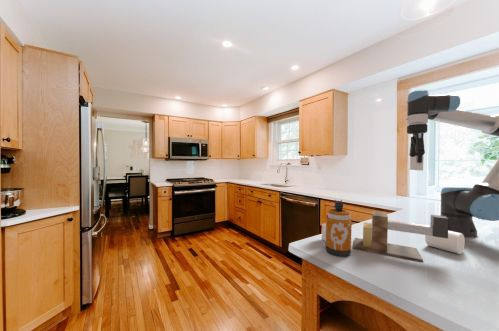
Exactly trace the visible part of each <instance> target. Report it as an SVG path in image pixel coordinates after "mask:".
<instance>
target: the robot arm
mask: <svg viewBox="0 0 499 331" xmlns="http://www.w3.org/2000/svg"><path fill="white" fill-rule="evenodd" d="M429 94H430V93H429V90H428V89H418V90H414V91H411V92H410V93H408V95H407V96H408V97H407V101H406V103H407V109H406V110H407V114H406V115H407V117H406V118H405V121H406V122H407V123H406V124H407V126H406V133H407V134H408V135H412V136H411V137H410V147H409V154H408V155H409V170H410V171H412V170H413V171H421V172H422V171H424V155H425V153H426V151H425V140H424V134H426V133H428V127H429V126H428V122H429V121H435V122H440V123H444V124H449V125H454V126H457V127H463V128H467V129H473V130H478V131H480V132H482V133H483V134H485V135H490V136H495V137H499V114H493V115H489V114H484V113H478V112H473V111H468V110H463V109H459V106H460V105H461V97H460V96H459V95H457V94H450V93H449V94H434V95H432V94H430V95H429ZM439 216H445V217H447V218H448V231H453V232H458V233H462V234H463V235H464V238H465V237H466V238H476V237H478V230H477V228H476V224H475V222H474V220H473V218H476V219H479V220H482V221H489V222H490V221H491V222H497V221H499V159H497V160H496V163H494V165H493V166H492V168H491V169H490V171H489V172H488V174H487V175H486V176H485V178H484V179H483V181H482V182H481V183H476V184H474V185H473V186H472V187H468V186H467V187H460V186H459V187H457V186H456V187H455V186H450V187H449V186H446V187H443V188H441V191H440V215H439Z"/></svg>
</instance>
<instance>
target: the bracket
mask: <svg viewBox="0 0 499 331" xmlns="http://www.w3.org/2000/svg"><path fill="white" fill-rule="evenodd" d="M371 213H372V214H371V220H372V221H371V223H372V247H371V248H368V247H363V238H359V237H355V238H354V241H353V248H352V249H354V250H357V251H359V250H360V251H366V252H369V253H373V254H375V253H376V254H379V255H384V256H390V257H395V258H401V259H404V260H405V259H406V260H410V259H411V260H410V261H415V260H417V261H416V262H420V261H423V262H424V259H423V257H422V255H421V252H419V250H418V248H417V247H413V246H406V245H399V244H394V243H389V242H388V231H389V230H388V220H389V217H388V213H387V212H386V211H376V210H375V211H374V210H372V211H371Z"/></svg>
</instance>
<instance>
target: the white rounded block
mask: <svg viewBox="0 0 499 331" xmlns="http://www.w3.org/2000/svg"><path fill="white" fill-rule="evenodd" d="M424 237H425V244H426V246H428V247H433V248H435V249H439V250H443V251H445V252H446V251H447V252H449V253H454V254H458V255H461V254H462V253H463V252H464V249H465V243H466V242H465V237H464V235H463V234H462V233H458V232H453V231H448V238H441V237H434V236H430V235H424Z"/></svg>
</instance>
